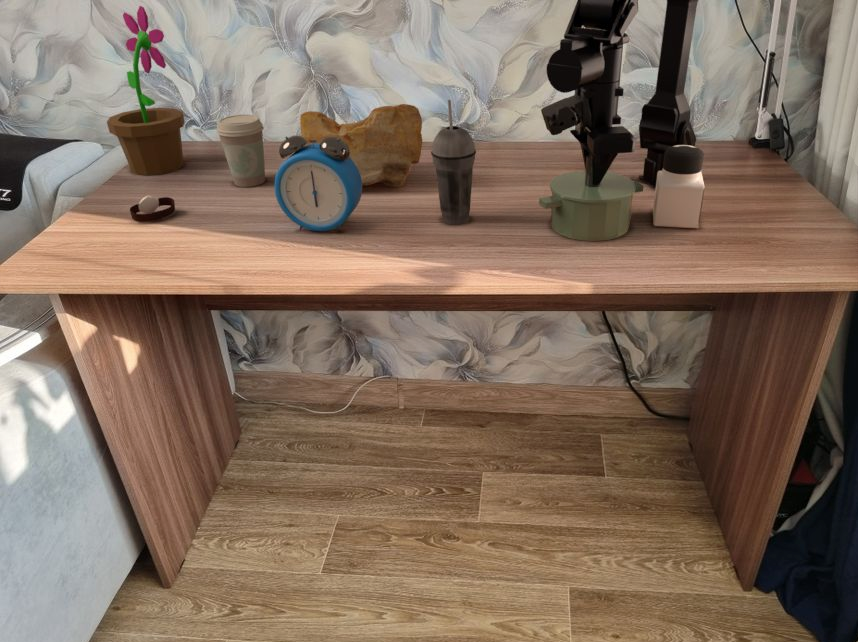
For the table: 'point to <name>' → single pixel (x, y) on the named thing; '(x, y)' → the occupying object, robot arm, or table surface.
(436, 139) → the beverage cup
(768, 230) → the table surface
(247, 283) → the table surface
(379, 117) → the rough brown rock
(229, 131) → the coffee cup
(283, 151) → the alarm clock
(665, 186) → the medicine bottle
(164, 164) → the flowerpot
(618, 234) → the cooking pot
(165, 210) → the watch
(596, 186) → the lid
